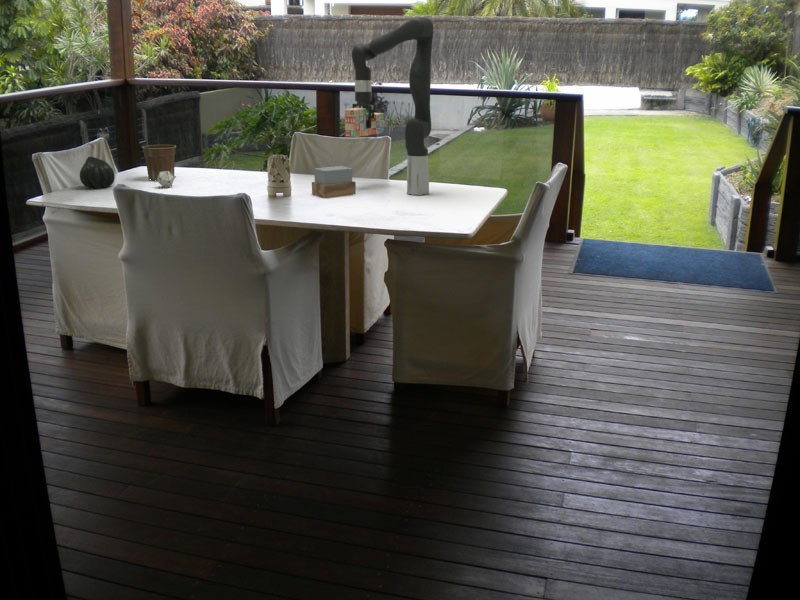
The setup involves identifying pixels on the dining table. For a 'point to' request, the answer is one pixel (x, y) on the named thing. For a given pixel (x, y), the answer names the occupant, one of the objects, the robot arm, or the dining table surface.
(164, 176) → the game die
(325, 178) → the tower top block
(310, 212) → the dining table surface
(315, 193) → the tower base block
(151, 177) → the plant pot
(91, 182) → the squash
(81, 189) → the dining table surface
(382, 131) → the stack of blocks
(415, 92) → the robot arm
